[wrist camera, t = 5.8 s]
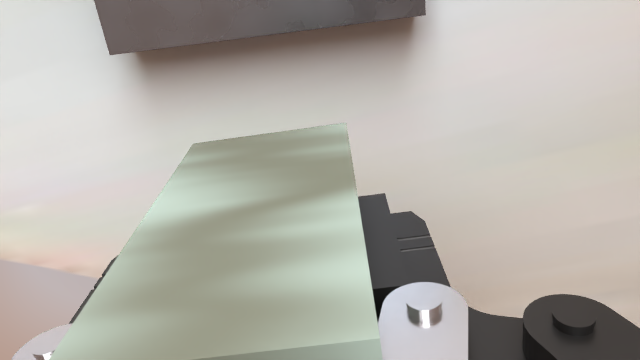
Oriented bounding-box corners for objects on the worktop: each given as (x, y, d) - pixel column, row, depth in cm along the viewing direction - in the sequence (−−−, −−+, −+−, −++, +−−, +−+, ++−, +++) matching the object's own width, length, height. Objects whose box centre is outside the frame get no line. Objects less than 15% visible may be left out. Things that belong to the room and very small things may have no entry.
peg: (346, 122, 13) (379, 338, 6) (362, 255, 15) (406, 556, 7) (193, 143, 13) (36, 377, 6) (226, 271, 15) (135, 580, 8)
